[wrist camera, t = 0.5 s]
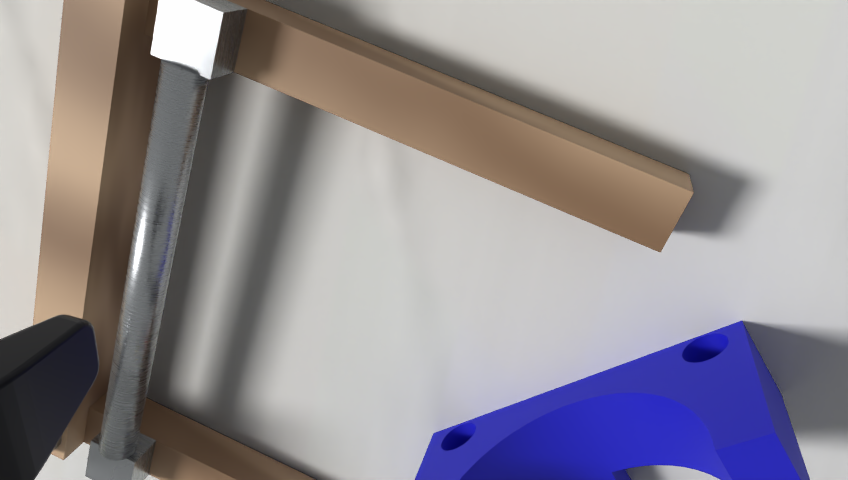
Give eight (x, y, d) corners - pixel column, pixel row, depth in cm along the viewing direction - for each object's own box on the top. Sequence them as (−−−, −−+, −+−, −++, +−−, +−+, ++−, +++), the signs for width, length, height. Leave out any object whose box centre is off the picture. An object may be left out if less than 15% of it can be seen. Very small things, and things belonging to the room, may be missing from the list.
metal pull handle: (173, 447, 31) (17, 618, 23) (76, 400, 32) (-109, 551, 24) (274, 4, 23) (79, 35, 15) (138, -52, 23) (-122, -51, 15)
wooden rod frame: (461, 588, 30) (445, 650, 27) (73, 398, 32) (21, 439, 29) (688, 174, 21) (697, 206, 19) (133, -54, 23) (68, -54, 21)
